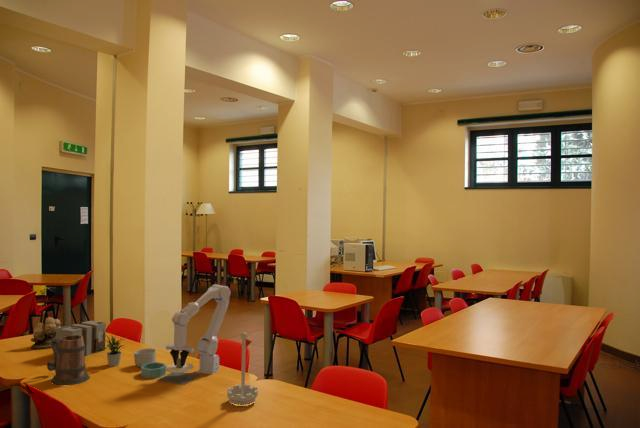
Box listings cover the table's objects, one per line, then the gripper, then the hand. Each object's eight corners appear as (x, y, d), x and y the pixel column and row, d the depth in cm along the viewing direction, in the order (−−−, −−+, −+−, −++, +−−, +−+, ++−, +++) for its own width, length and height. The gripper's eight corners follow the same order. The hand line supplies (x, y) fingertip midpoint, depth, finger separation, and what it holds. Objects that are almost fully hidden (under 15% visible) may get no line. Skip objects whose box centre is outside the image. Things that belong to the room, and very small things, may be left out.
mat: (200, 375, 243) (200, 374, 243) (184, 385, 229) (184, 384, 229) (174, 372, 248) (174, 371, 248) (156, 381, 233) (156, 380, 233)
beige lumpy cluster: (58, 341, 298) (59, 313, 298) (68, 344, 292) (69, 316, 291) (26, 347, 283) (27, 317, 283) (36, 351, 277) (37, 321, 277)
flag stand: (244, 410, 203) (245, 337, 202) (220, 403, 209) (222, 332, 209) (263, 400, 214) (265, 331, 214) (241, 394, 221) (242, 327, 220)
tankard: (97, 377, 237) (98, 335, 237) (67, 388, 222) (68, 344, 222) (64, 369, 247) (65, 329, 247) (32, 379, 232) (33, 337, 231)
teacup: (148, 370, 249) (149, 354, 249) (129, 368, 252) (129, 352, 252) (162, 362, 263) (163, 347, 263) (144, 360, 265) (144, 345, 265)
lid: (198, 365, 243) (198, 356, 243) (184, 374, 230) (184, 364, 230) (175, 362, 246) (175, 353, 246) (159, 370, 234) (160, 361, 234)
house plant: (90, 366, 253) (90, 334, 253) (110, 359, 265) (111, 329, 265) (111, 370, 247) (112, 338, 247) (131, 363, 260) (132, 332, 260)
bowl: (169, 372, 246) (169, 363, 246) (156, 379, 236) (156, 370, 236) (150, 370, 249) (150, 361, 249) (136, 377, 239) (136, 367, 239)
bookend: (108, 350, 283) (109, 322, 283) (70, 361, 260) (71, 331, 260) (89, 346, 290) (89, 318, 289) (50, 357, 267) (51, 327, 267)
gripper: (162, 337, 236) (161, 366, 237) (189, 340, 232) (188, 369, 232) (170, 334, 243) (170, 361, 243) (196, 337, 239) (196, 365, 239)
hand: (179, 365), depth 238 cm, fingers closed on lid, 3 cm apart
